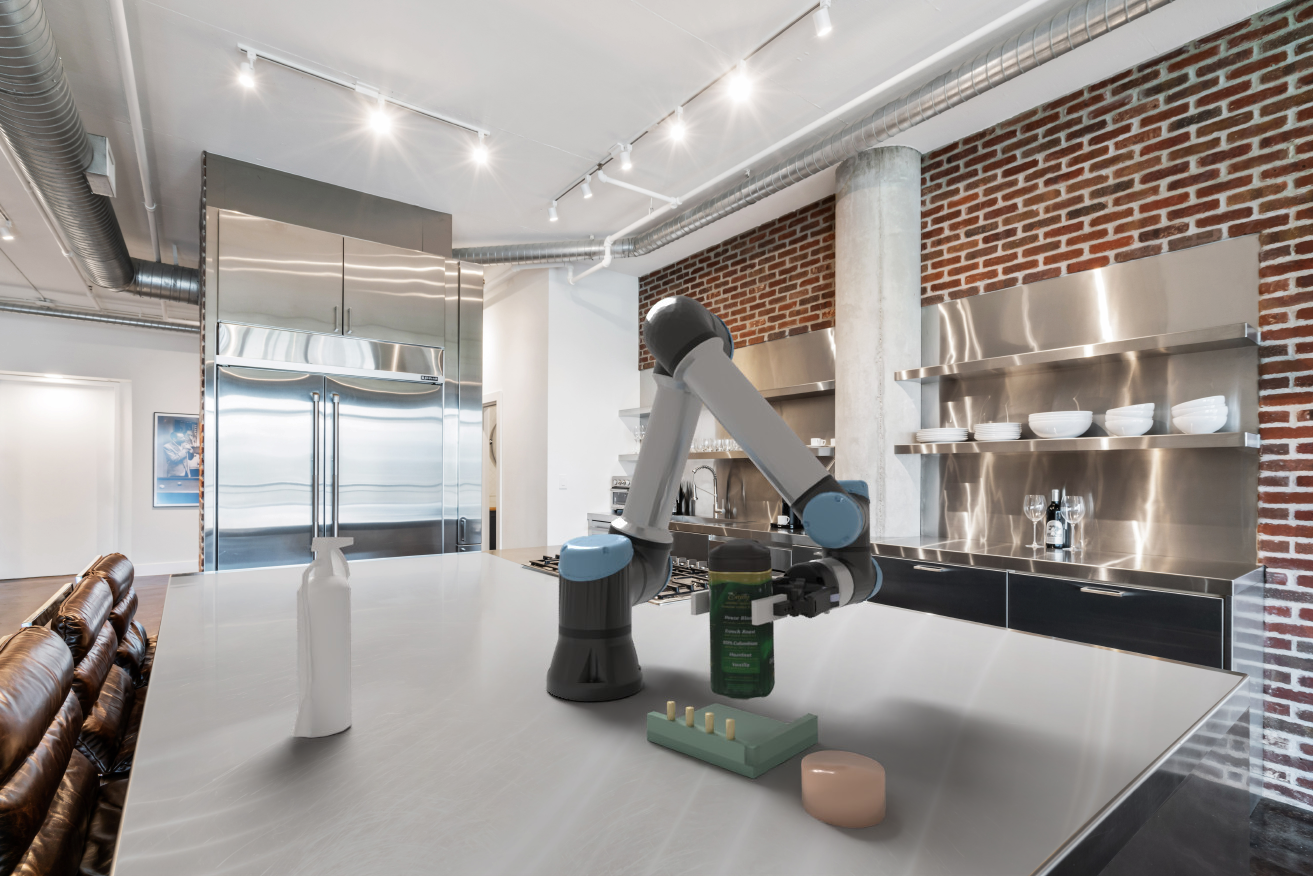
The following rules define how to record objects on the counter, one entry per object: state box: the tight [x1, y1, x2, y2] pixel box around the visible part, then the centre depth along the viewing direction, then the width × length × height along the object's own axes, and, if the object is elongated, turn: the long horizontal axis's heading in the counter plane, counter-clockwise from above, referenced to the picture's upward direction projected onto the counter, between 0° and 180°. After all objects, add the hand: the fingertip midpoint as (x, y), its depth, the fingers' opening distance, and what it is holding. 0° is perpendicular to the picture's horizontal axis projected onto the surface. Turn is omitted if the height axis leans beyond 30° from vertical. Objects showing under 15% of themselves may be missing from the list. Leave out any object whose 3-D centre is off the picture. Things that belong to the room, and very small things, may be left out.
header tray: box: [646, 700, 819, 779], centre depth 82 cm, size 16×14×5 cm
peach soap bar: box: [800, 749, 887, 829], centre depth 65 cm, size 8×8×4 cm
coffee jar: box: [707, 538, 776, 701], centre depth 82 cm, size 10×8×19 cm
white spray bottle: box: [290, 536, 354, 739], centre depth 85 cm, size 7×12×25 cm, turn 176°
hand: (722, 608), depth 79 cm, fingers closed on coffee jar, 9 cm apart
